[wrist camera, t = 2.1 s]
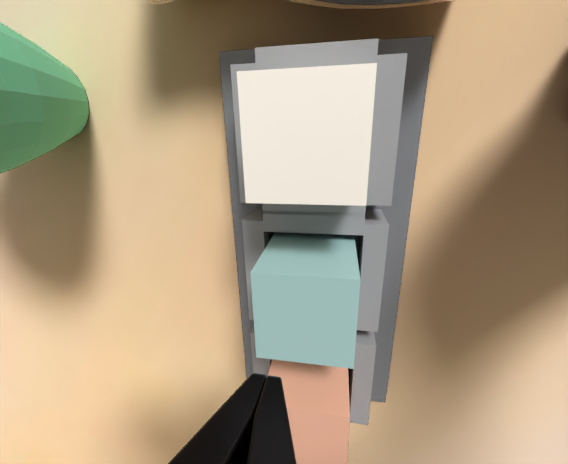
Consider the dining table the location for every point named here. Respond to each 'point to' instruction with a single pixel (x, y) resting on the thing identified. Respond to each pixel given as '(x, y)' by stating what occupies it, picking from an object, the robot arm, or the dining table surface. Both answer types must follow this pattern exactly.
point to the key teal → (307, 299)
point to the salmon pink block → (316, 410)
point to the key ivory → (307, 134)
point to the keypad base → (342, 218)
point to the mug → (35, 101)
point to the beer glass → (350, 3)
